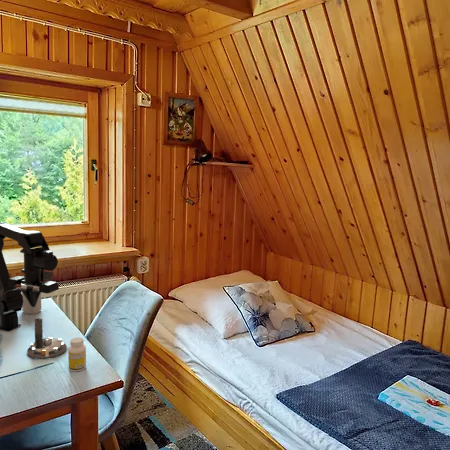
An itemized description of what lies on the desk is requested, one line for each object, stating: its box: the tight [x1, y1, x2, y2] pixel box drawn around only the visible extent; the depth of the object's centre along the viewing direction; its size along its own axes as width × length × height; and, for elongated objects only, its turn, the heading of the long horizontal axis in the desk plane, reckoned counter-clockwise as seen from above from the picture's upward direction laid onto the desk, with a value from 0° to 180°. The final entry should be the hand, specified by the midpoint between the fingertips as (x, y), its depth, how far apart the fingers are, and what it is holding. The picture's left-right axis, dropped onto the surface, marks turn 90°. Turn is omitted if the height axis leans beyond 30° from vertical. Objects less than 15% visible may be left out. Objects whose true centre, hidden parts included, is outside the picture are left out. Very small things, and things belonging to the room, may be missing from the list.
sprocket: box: [29, 318, 65, 355], centre depth 149 cm, size 11×11×12 cm
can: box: [21, 292, 42, 315], centre depth 184 cm, size 8×8×12 cm
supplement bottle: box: [67, 337, 87, 373], centre depth 139 cm, size 5×5×10 cm
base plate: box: [26, 341, 68, 360], centre depth 150 cm, size 13×13×4 cm
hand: (33, 306), depth 159 cm, fingers closed
